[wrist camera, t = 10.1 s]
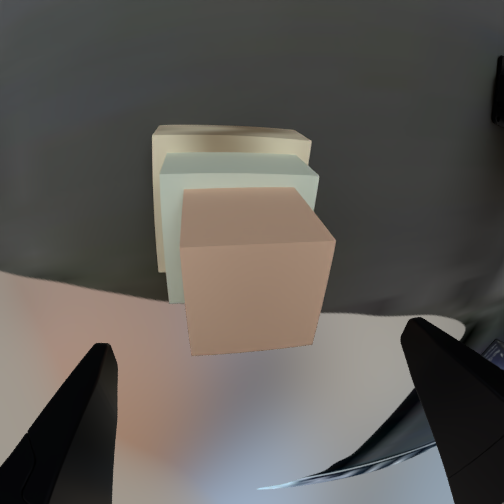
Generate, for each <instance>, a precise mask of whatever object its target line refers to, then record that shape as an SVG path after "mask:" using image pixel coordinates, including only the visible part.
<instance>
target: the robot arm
mask: <svg viewBox="0 0 504 504" xmlns="http://www.w3.org/2000/svg"><path fill="white" fill-rule="evenodd" d="M492 121H493V122H494V123H495V124H497V125H500V126H502V127H504V56H502V55H501V56H500V57H499V66H498V77H497V86H496V94H495V102H494V108H493V114H492ZM401 345H402V348H403V351H404V354H405V358H406V360H407V364H408V367H409V371H410V374H411V377H412V380H413V383H414V386H415V388H416V391H417V393H418V396H419V398H420V401H421V404H422V406H423V409H424V411H425V414H426V417H427V419H428V422H429V425H430V428H431V430H432V433H433V436H434V439H435V442H436V444H437V447H438V450H439V453H440V456H441V459H442V462H443V465H444V469H445V472H446V475H447V478H448V482H449V486H450V489H451V492H452V496H453V500H454V503H455V504H504V370H503V369H500V367H498V366H497V365H495V364H494V363H492V362H491V361H489V360H488V359H486V358H485V357H483V356H481V355H480V354H478V353H477V352H475V351H474V350H472V349H471V348H469V347H468V346H466V345H464V344H463V343H461V342H460V341H458V340H457V339H455V338H453V337H452V336H450V335H449V334H447V333H445V332H444V331H442V330H441V329H439V328H438V327H436V326H434V325H433V324H431V323H429V322H428V321H426V320H425V319H423V318H421V317H417V318H412V319H410V320H409V321H408V323H407V325H406V327H405V329H404V331H403V333H402V335H401ZM117 383H118V366H117V361H116V359H115V356H114V353H113V350H112V348H111V345H109V344H108V343H96V344H94V345H93V347H92V348H91V349H90V350H89V351H88V353H87V354H86V355H85V356H84V358H83V359H82V360H81V361H80V363H79V364H78V365H77V366H76V368H75V369H74V370H73V371H72V373H71V374H70V376H69V377H68V378H67V379H66V381H65V382H64V383H63V384H62V386H61V387H60V388H59V390H58V391H57V392H56V394H55V395H54V396H53V397H52V399H51V400H50V401H49V403H48V404H47V405H46V407H45V408H44V409H43V411H42V412H41V413H40V415H39V416H38V418H37V419H36V420H35V422H34V423H33V424H32V426H31V427H30V428H29V430H28V433H26V434H25V435H24V437H23V438H22V439H21V441H20V442H19V444H18V445H17V446H16V448H15V449H14V450H13V452H12V453H11V454H10V456H9V457H8V458H7V459H6V461H5V462H4V463H3V464H2V465H1V467H0V504H112V485H113V465H114V450H115V439H116V428H117Z"/></svg>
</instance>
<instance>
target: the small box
mask: <svg viewBox="0 0 504 504" xmlns="http://www.w3.org/2000/svg"><path fill="white" fill-rule="evenodd" d="M481 356H483V357H485V358H486V359H488V360H489V361H491V362H492V363H494V364H495V365H497V366H498V367H500V369H503V370H504V343H503V342H501V341H499V340H495V341H494V342H493V343H492V344H491V345H490V346H489V347H488V348H487V350H486V351H485V352H484V353H483V354H482V355H481Z"/></svg>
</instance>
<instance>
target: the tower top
mask: <svg viewBox="0 0 504 504" xmlns="http://www.w3.org/2000/svg"><path fill="white" fill-rule="evenodd" d="M159 175H160V199H161V217H162V232H163V245H164V257H165V268H166V278H167V288H168V297H169V304H175V303H185V299H184V290H183V280H182V270H181V258H180V233H181V218H182V205H183V193H184V189H207V188H245V187H294V188H295V189H296V190H297V191H298V193H299V194H300V195H301V196H302V198H303V199H304V200H305V201H306V203H307V204H308V205H309V206H310V208H311V209H312V210H313V211H314V206H315V200H316V194H317V188H318V182H319V175H318V174H317V173H315V172H314V171H313V170H312V169H311V168H310V167H309V166H308V165H307V164H305V163H304V162H303V161H302V160H301V159H300V158H299V157H298V156H296V155H292V154H272V153H242V152H181V153H167V154H166V157H165V160H164V163H163V165H162V168H161V171H160V174H159Z"/></svg>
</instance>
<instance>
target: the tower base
mask: <svg viewBox="0 0 504 504" xmlns="http://www.w3.org/2000/svg"><path fill="white" fill-rule="evenodd" d="M311 142H312V141H311V140H309V139H308V138H306V137H305V136H303V135H301V134H300V133H298V132H297V131H295V130H289V129H277V128H263V127H247V126H224V125H159V127H158V128H157V129H156V131H155V132H154V134H153V135H152V164H153V197H154V217H155V234H156V247H157V260H158V271H159V272H166V268H165V257H164V245H163V232H162V217H161V199H160V175H159V174H160V171H161V168H162V165H163V163H164V160H165V157H166V154H167V153H181V152H242V153H272V154H292V155H296V156H298V157H299V158H300V159H301V160H302V161H303V162H304V163H305V164H307V165H308V162H309V156H310V149H311Z"/></svg>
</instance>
